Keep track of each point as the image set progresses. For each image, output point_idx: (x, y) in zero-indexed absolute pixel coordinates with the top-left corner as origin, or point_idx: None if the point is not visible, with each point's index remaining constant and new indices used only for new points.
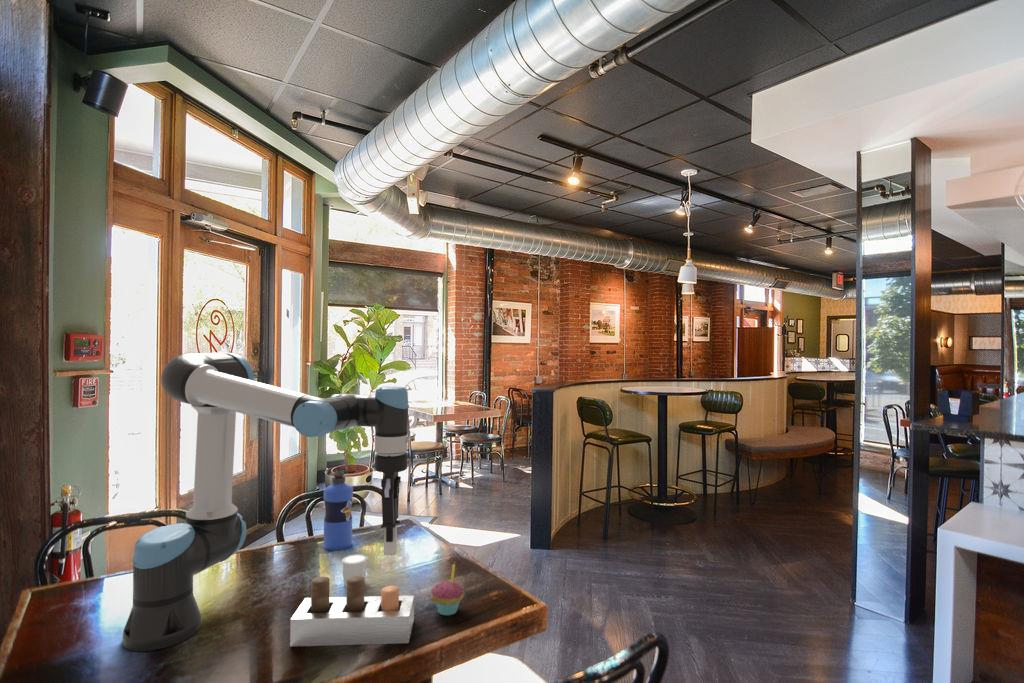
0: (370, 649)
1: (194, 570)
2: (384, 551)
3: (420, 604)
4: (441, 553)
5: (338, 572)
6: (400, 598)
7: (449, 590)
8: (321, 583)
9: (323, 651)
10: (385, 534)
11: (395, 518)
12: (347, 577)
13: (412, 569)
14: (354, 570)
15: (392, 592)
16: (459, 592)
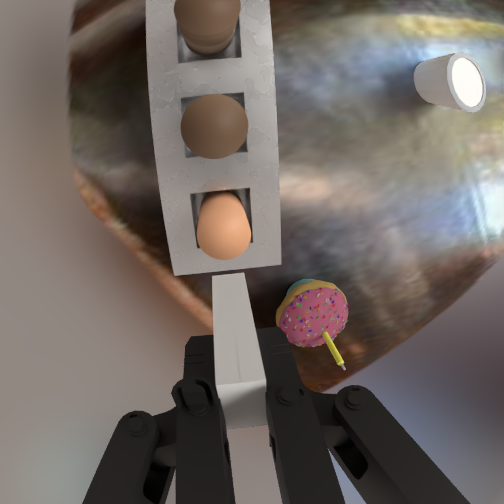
0: (150, 179)
1: None
2: (212, 288)
3: (336, 238)
4: (499, 239)
5: (465, 51)
6: (265, 235)
7: (295, 333)
8: (180, 17)
9: (138, 84)
10: (216, 353)
11: (274, 455)
12: (427, 67)
13: (467, 196)
14: (437, 82)
15: (205, 246)
16: (296, 344)
